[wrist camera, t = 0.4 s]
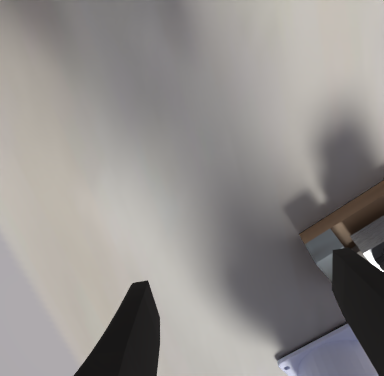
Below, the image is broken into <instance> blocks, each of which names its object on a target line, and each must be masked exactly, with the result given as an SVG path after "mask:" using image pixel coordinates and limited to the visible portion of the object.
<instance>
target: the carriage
mask: <svg viewBox="0 0 384 376" xmlns="http://www.w3.org/2000/svg"><path fill="white" fill-rule="evenodd" d="M350 237H351V239H352V240H353V241H354V243H355V244H356V245H357V247H358V248H359V249H360V251H361V252H362V253H363V255H364V256H365V257H366V259H367V260H368V261H369V262H370V263H371V264H373V265H374V266H376V267H377V268H378V269H380V270H381V271H383V272H384V216H382V217H380V218H379V219H377V220H375V221H374V222H372V223H370V224H369V225H367V226H365V227H364V228H362V229H361V230H359V231H357V232H356V233H354V234H352V235H351V236H350Z"/></svg>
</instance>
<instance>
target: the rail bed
mask: <svg viewBox="0 0 384 376" xmlns="http://www.w3.org/2000/svg"><path fill="white" fill-rule="evenodd" d="M382 216H384V180H383V181H382V182H380V183H379V184H377V185H376V186H374V187H372V188H371V189H369V190H368V191H366V192H365V193H363V194H361V195H360V196H358V197H357V198H355V199H354V200H352V201H350V202H349V203H347V204H346V205H344V206H343V207H341V208H339V209H338V210H336V211H335V212H333V213H332V214H330V215H328V216H327V217H325V218H324V219H322V220H321V221H319V222H317V223H316V224H314V225H313V226H311V227H310V228H308V229H307V230H305V231H303V232H302V233H300V234H299V235H300V237H301V239H302V240H303V242H304V244H305V246H306V248H307V249H308V251H309V253H310V255H311V257H312V258H313V260H314V262H315V264H316V265H317V266H318V267H319V268H320V270H321V271H322V272H323V273H324V274H325V275H326V277H327V278H328V279H329V280H330V281H331V282H332V258H333V250H336V249H342V248H348V247H349V248H350V249H352V250H353V251H355V252H356V253H357V254H359V255H360V256H362V257H363V258H364V259H366V257H365V256H364V255H363V253H362V252H361V251H360V249H359V248H358V247H357V245H356V244H355V243H354V241H353V240H352V239H351V237H350V236H351V235H352V234H354V233H356V232H357V231H359V230H361V229H362V228H364V227H365V226H367V225H369V224H370V223H372V222H374V221H375V220H377V219H379V218H380V217H382ZM366 260H367V259H366ZM367 261H368V260H367Z"/></svg>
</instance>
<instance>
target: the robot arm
mask: <svg viewBox="0 0 384 376" xmlns="http://www.w3.org/2000/svg"><path fill="white" fill-rule="evenodd" d="M332 291H333V293H334V295H335V298H336V300H337V302H338V305H339V307H340V309H341V311H342V314H343V316H344V317H345V319H346V321H347V322H348V323H347V324H345V325H344V326H342V327H340V328H338V329H336V330H334V331H332V332H330V333H328V334H327V335H325V336H323V337H321V338H319V339H317V340H315V341H313V342H311V343H310V344H308V345H306V346H304V347H302V348H300V349H298V350H296V351H294V352H293V353H291V354H289V355H287V356H285V357H283V358H281V359H280V360H278V366H279V368H280V369H282V370H283V371H284V372H285V373H286V374H287V375H288V376H384V272H383V271H381V270H380V269H378V268H377V267H376V266H374V265H373V264H371V263H370V262H369V261H367V260H366V259H364V258H363V257H362V256H360V255H359V254H357V253H356V252H355V251H353V250H352V249H350V248H349V247H348V248H342V249H336V250H333V258H332ZM159 347H160V317H159V313H158V310H157V307H156V304H155V301H154V298H153V295H152V292H151V288H150V285H149V282H148V281H142V282H136V283H133V284H132V285H131V286H130V288H129V290H128V292H127V294H126V296H125V298H124V300H123V301H122V303H121V305H120V307H119V309H118V310H117V312H116V314H115V316H114V317H113V319H112V321H111V322H110V324H109V326H108V327H107V329H106V331H105V332H104V334H103V335H102V337H101V338H100V340H99V341H98V343H97V344H96V346H95V347H94V349H93V350H92V352H91V353H90V355H89V356H88V357H87V359H86V360H85V362H84V363H83V364H82V366H81V367H80V368H79V369H78V371H77V372H76V373H75V375H74V376H157V367H158V357H159Z"/></svg>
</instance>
